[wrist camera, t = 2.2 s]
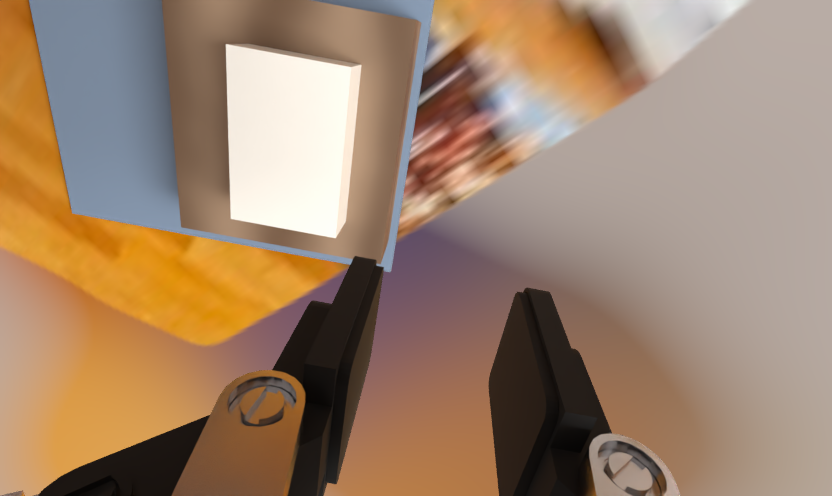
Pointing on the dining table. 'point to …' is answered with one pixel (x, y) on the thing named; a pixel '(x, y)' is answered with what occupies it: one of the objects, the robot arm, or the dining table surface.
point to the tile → (290, 137)
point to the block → (307, 34)
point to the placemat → (149, 110)
